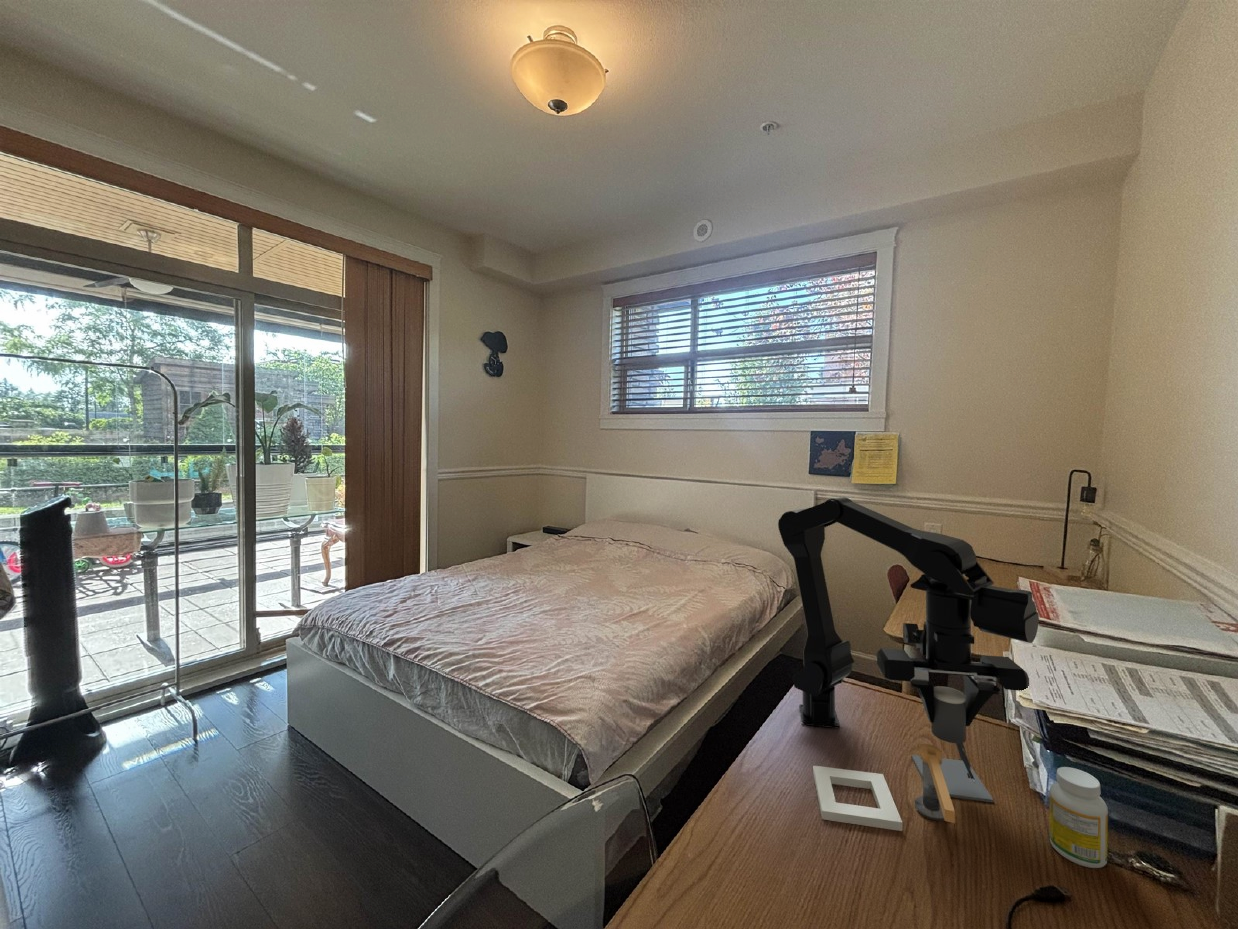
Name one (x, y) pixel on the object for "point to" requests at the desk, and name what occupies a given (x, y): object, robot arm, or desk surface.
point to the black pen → (965, 759)
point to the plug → (949, 715)
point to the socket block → (856, 814)
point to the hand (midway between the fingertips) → (948, 723)
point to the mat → (959, 780)
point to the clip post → (929, 798)
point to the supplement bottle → (1078, 818)
